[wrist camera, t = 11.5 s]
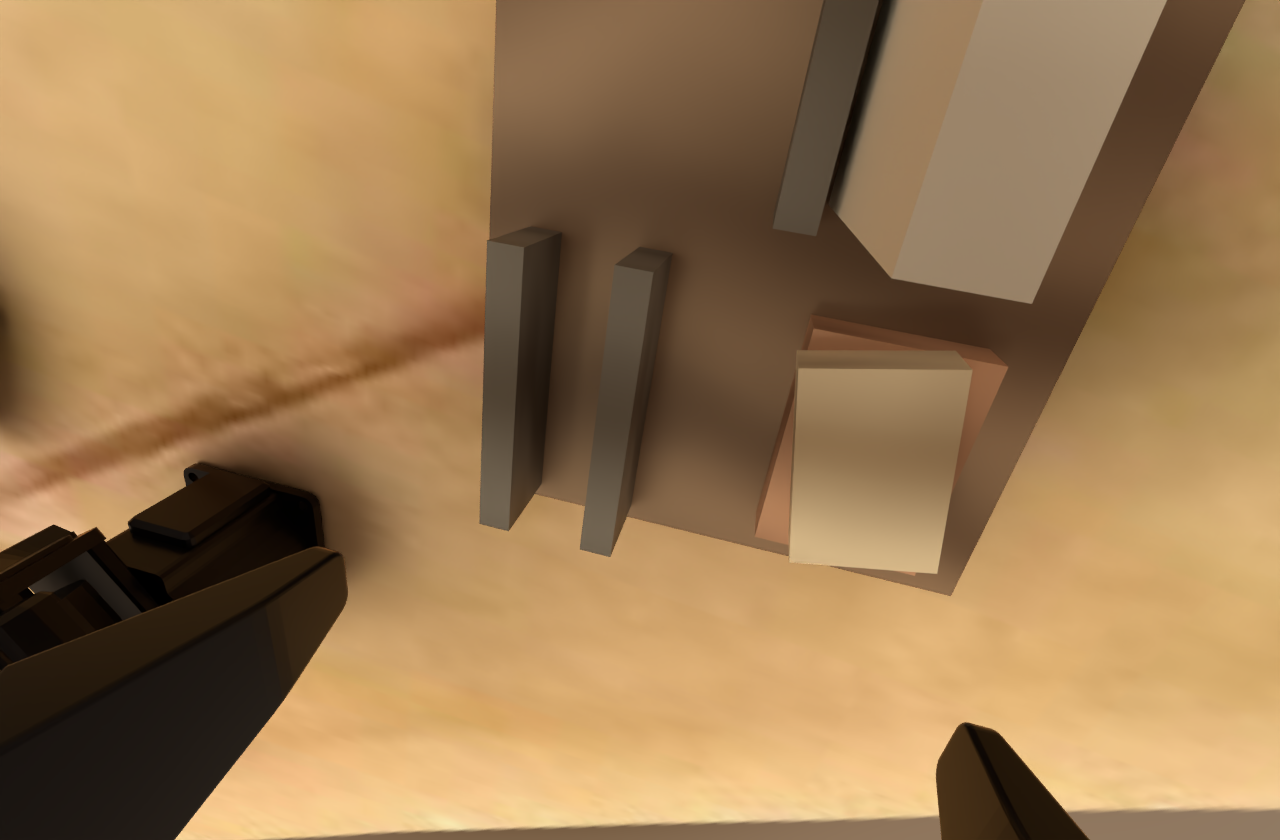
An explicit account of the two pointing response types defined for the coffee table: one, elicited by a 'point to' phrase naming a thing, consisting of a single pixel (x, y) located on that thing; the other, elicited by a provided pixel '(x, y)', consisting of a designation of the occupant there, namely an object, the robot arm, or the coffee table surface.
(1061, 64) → the off-white sheet
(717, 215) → the walnut rack
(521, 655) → the coffee table surface
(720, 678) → the coffee table surface
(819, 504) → the birch offcut
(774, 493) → the cedar offcut
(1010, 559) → the coffee table surface
